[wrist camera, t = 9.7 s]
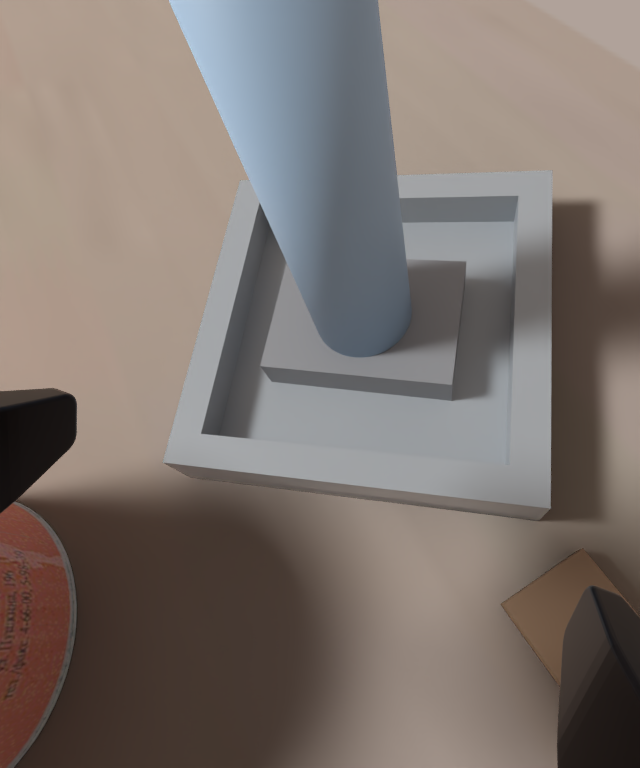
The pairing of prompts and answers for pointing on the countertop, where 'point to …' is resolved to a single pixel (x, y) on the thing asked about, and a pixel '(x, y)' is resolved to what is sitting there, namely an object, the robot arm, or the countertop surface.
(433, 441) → the tray
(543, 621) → the slot
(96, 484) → the countertop surface
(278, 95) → the tall blue pillar
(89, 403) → the countertop surface
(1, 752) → the canned food
